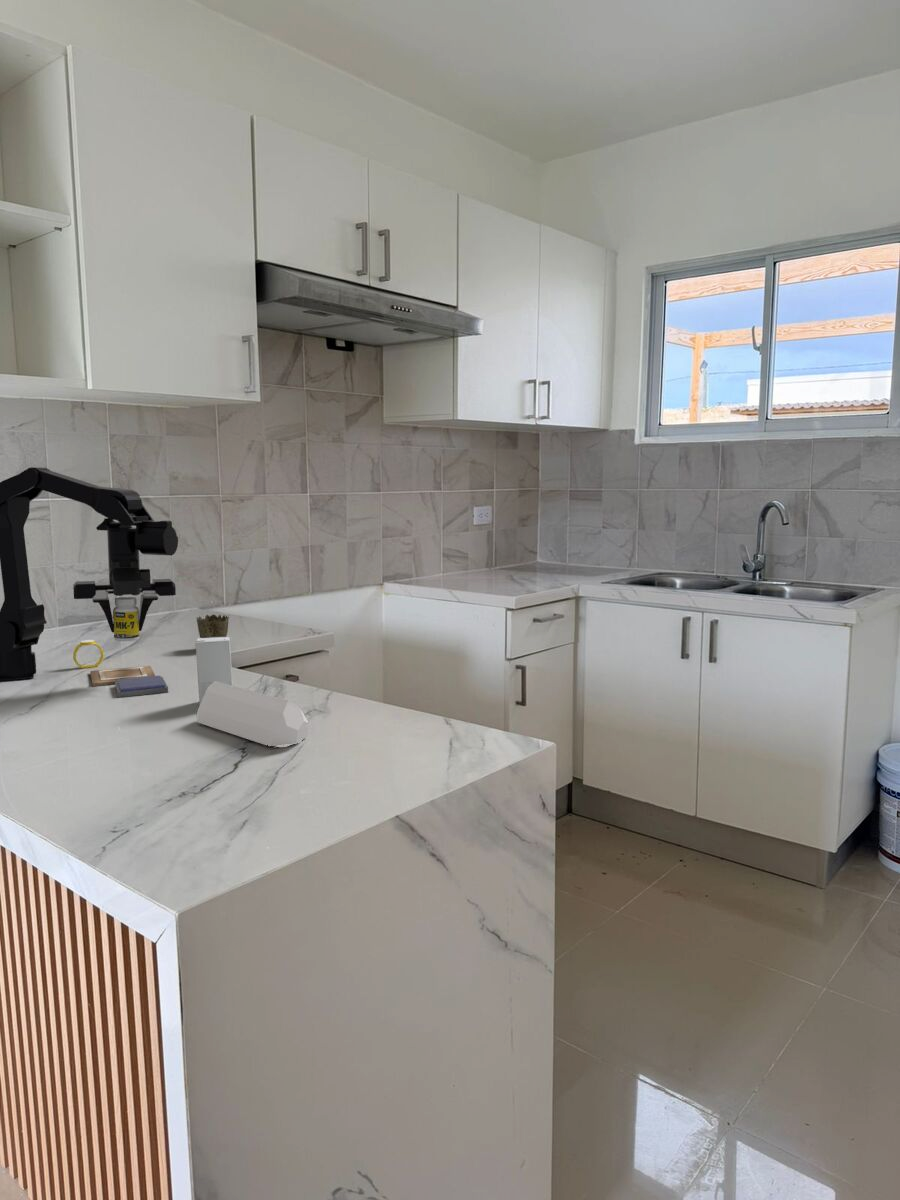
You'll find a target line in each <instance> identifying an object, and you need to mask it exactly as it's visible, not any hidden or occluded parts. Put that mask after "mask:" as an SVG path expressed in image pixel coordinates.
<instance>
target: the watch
mask: <svg viewBox="0 0 900 1200" xmlns="http://www.w3.org/2000/svg"><path fill="white" fill-rule="evenodd" d="M93 645H94V646H96V647H97V648H98V649H99V651H100V657H99V659H98V661H97V662H96V663H95V664H90V665H82V664H80V663H79V662H78V660H77V652H78V650H79V649H80V648H82V647H83V646H93ZM104 657H105V655H104V649H103V648H102V647H101V646H100V645H99V644H98V643H96V642H95V639H84V640H81V641H80V642H79V644H78V645H76V647H75V648H74V650H73V653H72V658H73V662H75V664H76V665H77V666H78V667H80V669H90V668H91V669H92V668H97V667H98V666H100V665H101V664H102V662H103V659H104Z"/></svg>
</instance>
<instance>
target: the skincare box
mask: <svg viewBox="0 0 900 1200" xmlns="http://www.w3.org/2000/svg"><path fill="white" fill-rule="evenodd" d="M194 644H195V655H196V657H195V659H196V671H197V672H196V673H197V685H198V702H199V705H200V704H201V701H202V699H203V697H204V694H205V692H206V690H207V688H208V687H209V686H210V685H211V684H212V683H213V682H214V681H217V682H221V683H225V684H228V685H232V686H234V685H233V671H232V670H233V668H232V655H231V638H230V636H227V637H215V638H200V637H198V638H196V640H195V643H194Z"/></svg>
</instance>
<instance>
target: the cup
mask: <svg viewBox="0 0 900 1200" xmlns="http://www.w3.org/2000/svg"><path fill="white" fill-rule="evenodd" d="M229 619H230V617H229V615H225V614H223V616H222V615H221V614H219V615H218V616H217V615H216V614H212V615H209V614H206V615H205V617H204V618H202V616H199V617H198V616H197V617H196V623H197V630H198V635H199V638H215V637H228V629H229Z"/></svg>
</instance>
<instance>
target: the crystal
mask: <svg viewBox="0 0 900 1200" xmlns="http://www.w3.org/2000/svg"><path fill="white" fill-rule="evenodd" d="M232 685H233V684H232ZM232 685H228V684H225V683H221V682H217V681H214V682H213V683H212V684H211V685H210V686H209V687H208V688H207V690H206V692H205V694H204V697H203V699H202V701H201V704H199V707H198V709H197V712H196V720H197V722H196V723H199V724H200V725H205V726H208V727H210V728H212V729H217V730H219V731H222V732H225V733H229V734H231V735H235V736H237V737H240V738H243V739H245V740H246V739H247V740H249V741H252V742H255V743H259V744H262V745H263V746H267V745H268V747H270V746H277V745H282V744H283V745H284V744H292V743H296V742H298V741H300V740H301V739H303V738H304V737H305V736H307V735H309V721H308V720H307V718H306V716H305V714H304V713H303V711H302V709H301V708H300V707H299V706H297V705H296V704H294V703H292V702H291V701H289V700H287V699H283V698H281V697H276V696H272V695H269V694H266V693H262V692H261V693H260V692H257V691H254V690H250V689H247V688H242V687H239V686H235V685H233V686H232ZM307 737H308V736H307Z"/></svg>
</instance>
